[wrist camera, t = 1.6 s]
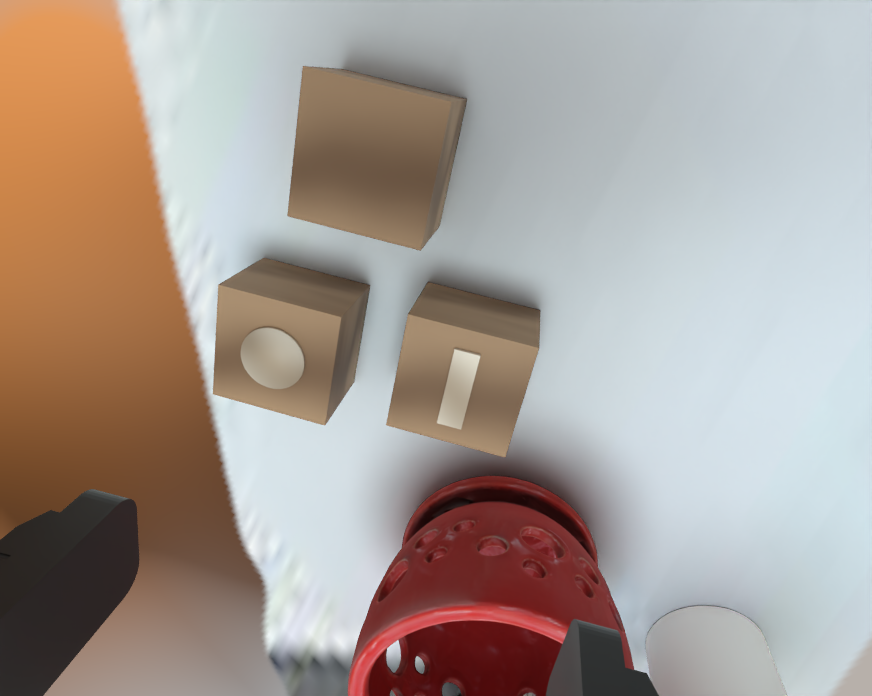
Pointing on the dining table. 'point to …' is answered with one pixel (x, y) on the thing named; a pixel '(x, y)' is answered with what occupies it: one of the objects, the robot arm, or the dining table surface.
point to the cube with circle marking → (288, 338)
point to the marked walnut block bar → (464, 368)
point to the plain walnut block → (373, 155)
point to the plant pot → (483, 594)
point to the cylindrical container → (710, 655)
